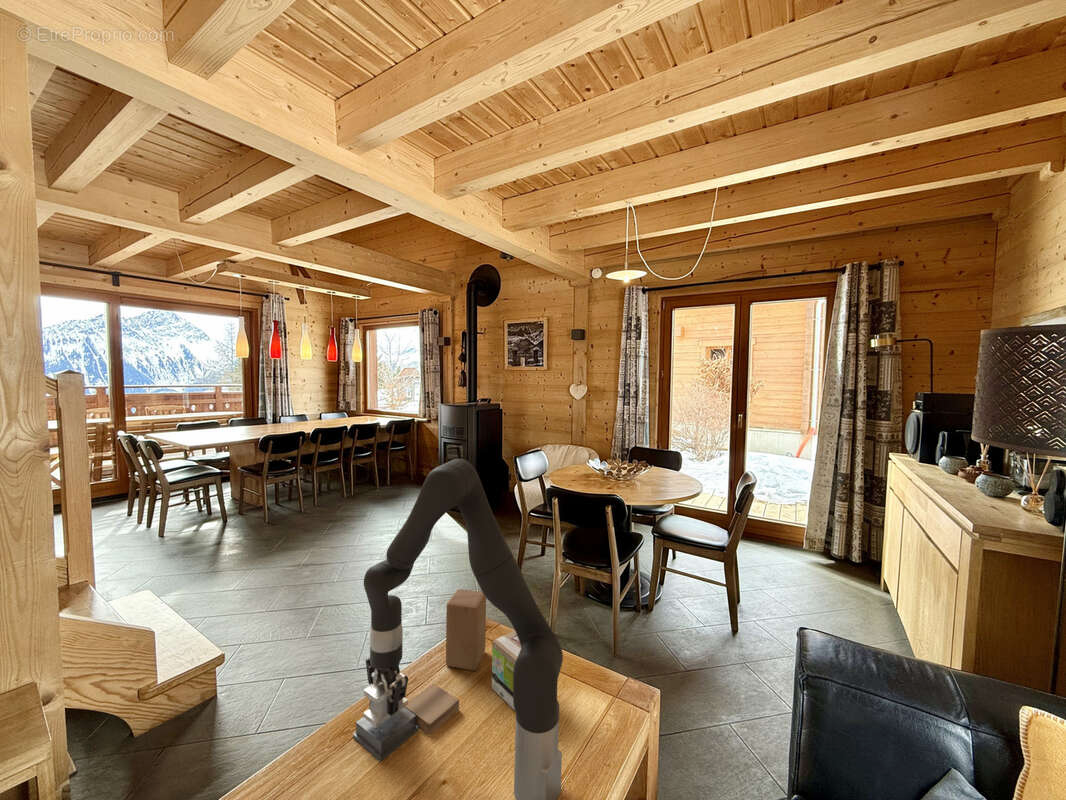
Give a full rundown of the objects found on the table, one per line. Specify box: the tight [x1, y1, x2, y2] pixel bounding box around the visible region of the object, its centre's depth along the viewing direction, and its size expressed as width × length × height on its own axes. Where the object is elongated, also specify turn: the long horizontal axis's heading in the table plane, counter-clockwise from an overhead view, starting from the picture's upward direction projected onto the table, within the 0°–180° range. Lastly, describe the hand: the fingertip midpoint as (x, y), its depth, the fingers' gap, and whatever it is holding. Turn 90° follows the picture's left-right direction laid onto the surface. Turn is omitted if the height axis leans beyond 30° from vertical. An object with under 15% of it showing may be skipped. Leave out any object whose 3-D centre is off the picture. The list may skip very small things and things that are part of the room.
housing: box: [363, 672, 409, 728], centre depth 105 cm, size 9×5×7 cm, turn 145°
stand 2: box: [405, 682, 460, 737], centre depth 113 cm, size 10×10×3 cm
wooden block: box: [445, 588, 487, 671], centre depth 134 cm, size 10×10×20 cm
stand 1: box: [352, 707, 420, 763], centre depth 106 cm, size 11×11×4 cm
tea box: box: [491, 629, 521, 711], centre depth 119 cm, size 15×10×15 cm, turn 42°
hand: (386, 707), depth 105 cm, fingers closed on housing, 5 cm apart
